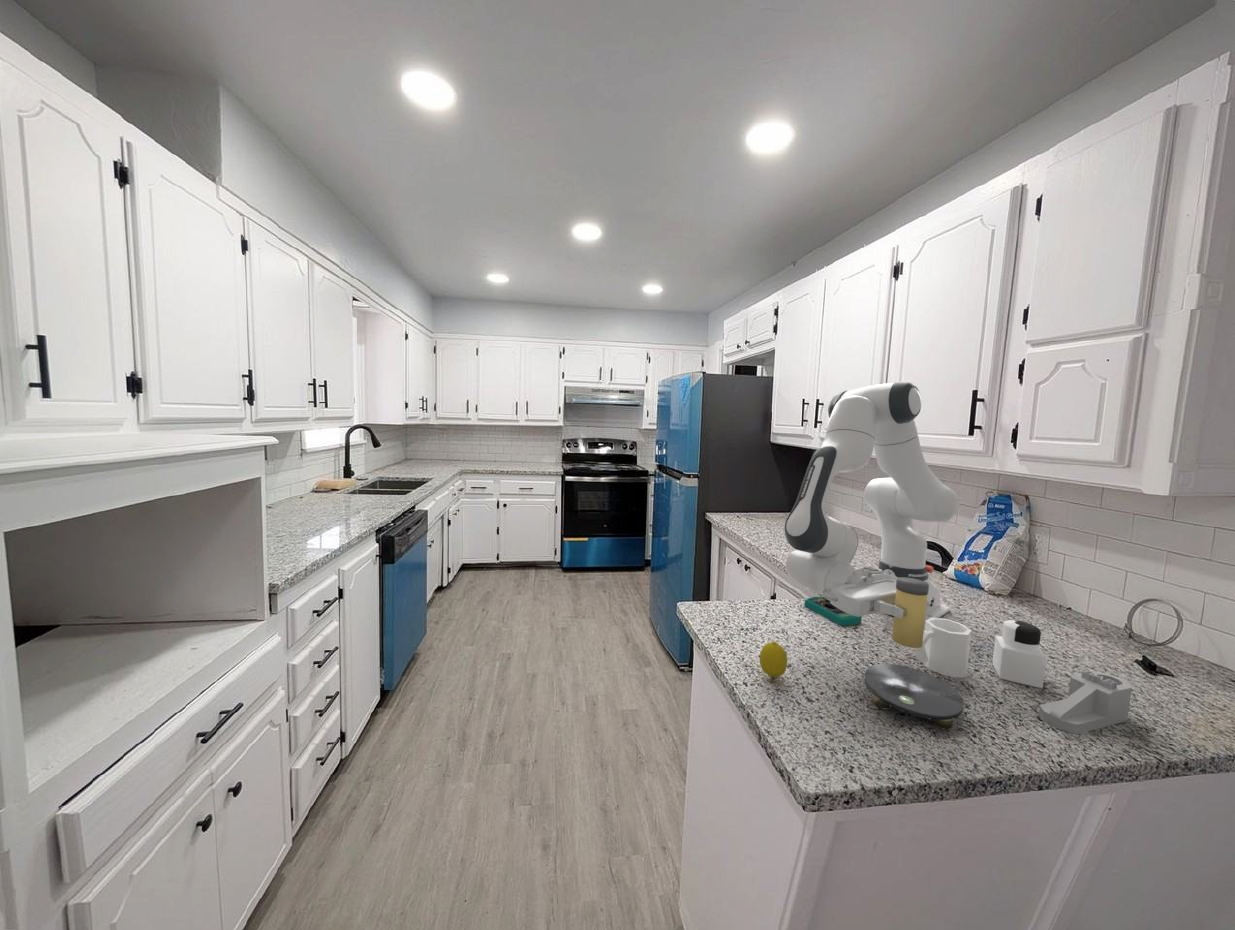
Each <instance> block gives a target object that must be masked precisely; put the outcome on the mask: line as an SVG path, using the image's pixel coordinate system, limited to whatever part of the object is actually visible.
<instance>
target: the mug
mask: <svg viewBox="0 0 1235 930" xmlns="http://www.w3.org/2000/svg"><path fill="white" fill-rule="evenodd" d="M972 632H973V631H972V630H971V629H970V628H968V626H966V625H965V624H963V623H960V622H957V621H955V620H951V619H948V618H943V617H942V618H941V617H939V618H930V619H928V620H926V621H925V624H924V634H923V644H922V647H920V648H914V650H915V656H916V659H917V660H918V661H920V662H921V663H923V664H924V666H926V668H927V669H928V670H931V671H933V672H936V673H938V674H941V675H943V676H945V677H952V678H962V679H963V678H965V677H966V675H967V674H968V672H969V671H968V670H969V660H970V659H969V658H970V652H971V651H970V650H971V642H972V641H971V640H972Z"/></svg>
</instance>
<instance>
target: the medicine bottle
mask: <svg viewBox="0 0 1235 930" xmlns="http://www.w3.org/2000/svg"><path fill="white" fill-rule="evenodd" d="M1041 636H1042V631H1041V629H1040V628H1039V627H1037V626H1035V625H1033V624H1031V623H1029V622H1026V621H1022V620H1017V619H1009V620H1006V621H1004V622H1003V627H1002V635H995V638H994V647H993V654H992V655H993V656H992V666H993V667H994V670H995V672H996V674H997V675H998V678H999V679H1001V680H1005V681H1008V682H1009V681H1010V682H1013V683H1016V684H1021V685H1026V686H1029V687H1034V688H1038V689H1043V688H1044V684H1045V683H1044V681H1045V680H1044V679H1045V673H1046V666H1047V665H1046V664H1047V656H1046V655H1045V653H1044V652H1043V651H1042V650H1041V648H1040V645H1041Z"/></svg>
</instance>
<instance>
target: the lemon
mask: <svg viewBox="0 0 1235 930" xmlns="http://www.w3.org/2000/svg"><path fill="white" fill-rule="evenodd" d="M759 664H760V667H761V669H762V671H763V672H764V674H766V675H767V676H769V677H770V678H772V679H775V678H777V677H781V676H782V675H783V674H784V673H785V672H786V670H787V667H788V656H787V651H786V650H785V648H784V647H783V646H782V645H781V644H779V643H778V642H776V641H770V642H767V643H766V644H764V645H763V646H762V648H761V651H760V654H759Z"/></svg>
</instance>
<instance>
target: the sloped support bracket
mask: <svg viewBox="0 0 1235 930" xmlns="http://www.w3.org/2000/svg"><path fill="white" fill-rule="evenodd" d="M1081 671H1082V670H1081ZM1068 687H1069V688H1068V695H1067V698H1065V699H1061V700H1057V701H1052V702H1047V703H1042V704H1039V707H1038V715H1039V717H1040V719H1041V720H1042V721H1043V722H1045V723H1047V724H1049V725H1051V726H1053V727H1054V728H1056V729H1058V730H1060V731H1063V732H1066V733H1071V734H1074V735H1078V734H1083V733H1087V732H1090V731H1094V730H1097V729H1098V730H1099V729H1101V728H1106V727H1110V726H1113V725H1117V724H1120V723H1125V722H1127V721H1128V719H1129V718H1128V717H1129V711H1130V705H1131V697H1132V696H1131V695H1132V690H1133V689H1132V688H1133V686H1132V684H1131V683H1130V682H1129V681H1127V680H1125V679H1123V678H1121V677H1118V676H1116V675H1113V674H1111V673H1110V674H1109V673H1106V672H1102V671H1094V670H1083V671H1082V672H1081V673H1077V674H1072V675H1071V676H1070V678H1069V686H1068Z"/></svg>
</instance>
